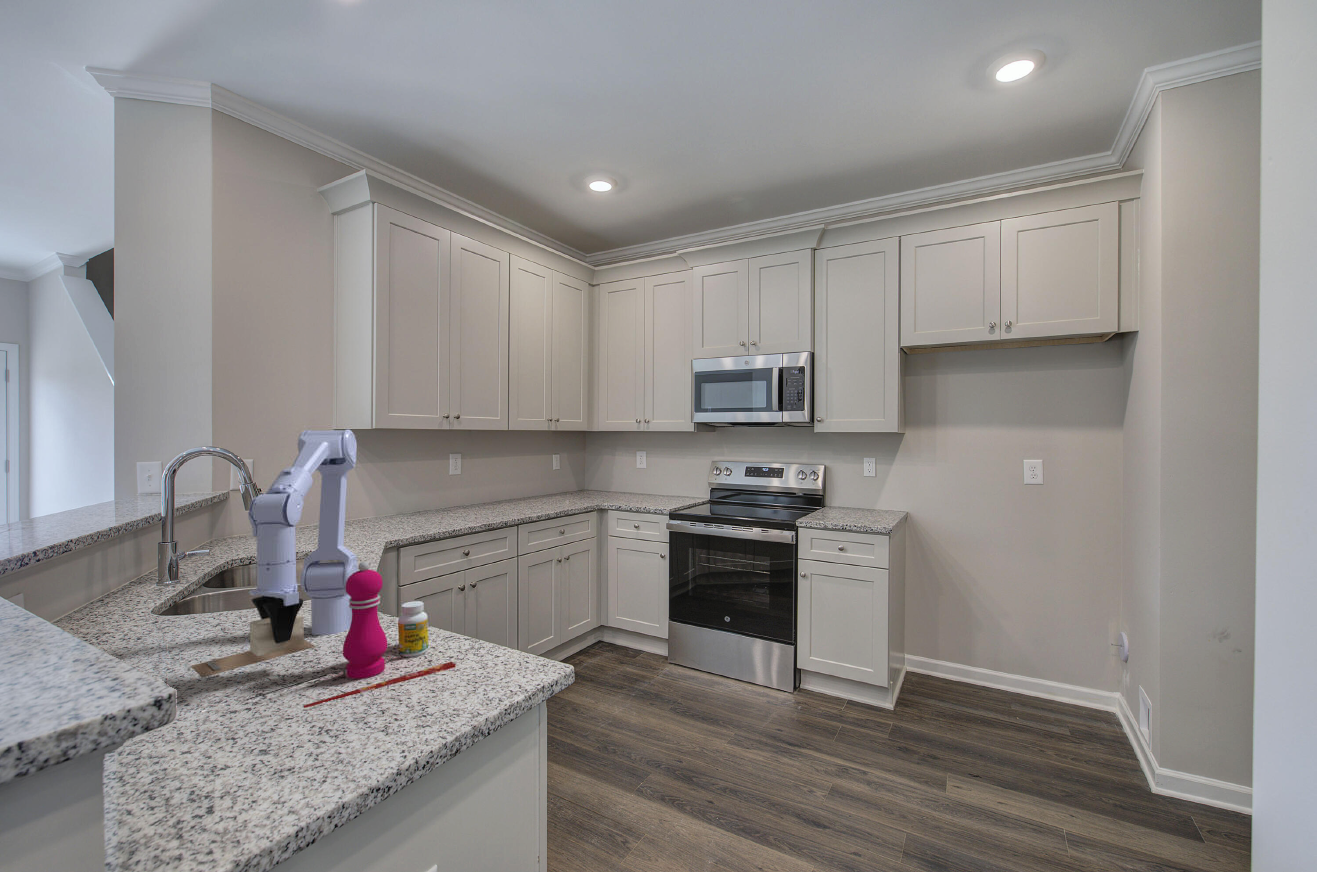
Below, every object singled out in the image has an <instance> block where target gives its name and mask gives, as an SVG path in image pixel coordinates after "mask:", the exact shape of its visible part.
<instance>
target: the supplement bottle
mask: <svg viewBox="0 0 1317 872" xmlns="http://www.w3.org/2000/svg"><path fill="white" fill-rule="evenodd" d="M424 605H425V604H424V602H423V601H418V600H416V601H409V602H405V603H403V604H401V605H400V606H401V607H400V608H401V610H400V612H401V613H402V614H401V615H399V617H398V620H397V629H398V630H397V631H398V650H399V652H398V654H399V656H401V657H403V658H414V657H418V656H421V655H422V656H423V655H424V654H426V653H427V652H428V650H429V622H428V620H429V619H428V614H427V613H426V612H425V611H424V609H425V607H424Z"/></svg>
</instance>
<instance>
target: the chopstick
mask: <svg viewBox="0 0 1317 872" xmlns="http://www.w3.org/2000/svg"><path fill="white" fill-rule="evenodd" d="M455 668H456V663H454V662H453V661H448V662H446V663H442V664H438V665H435V666H431V667H428V668H425V669H423V670H418V671H416V672H415V671H414V672H411V673H408V674H405V675H402V676H399V677H395V678H391V679H388V680H385V681H381V682H378V683H376V684H372V685H368V686H364V687H360V688H358V689H357V688H356V689H355V690H352V691H351V690H350V691H347V692H345V693H344V692H343V693H342V694H338V695H334V696H331V697H327V698H324V699H322V700H318V701H314V702H311V703H307V704H304V705H303V708H304V709H305V708H310V707H313V706H317V705H321V704H324V703H323V702H325V703H328V701H329V702H332V701H336V700H340V699H342V698H346V696H347V697H350V696H349V695H351V696H354V694H355V695H357V694H362V693H365V691H366V692H369V691H373V690H378V689H380V688H384V687H388V686H391V685H395V684H399V683H403V682H406V681H410V680H413V679H416V678H421V677H425V676H428V675H432V674H436V673H439V672H443V671H446V670H449V669H455ZM339 698H340V699H339ZM335 699H336V700H335ZM331 700H332V701H331Z"/></svg>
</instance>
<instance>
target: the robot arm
mask: <svg viewBox="0 0 1317 872" xmlns="http://www.w3.org/2000/svg"><path fill="white" fill-rule="evenodd" d="M357 447H358V445H357V439H356V435H355V433H354V432H353V431H352V430H351V429H345V430H344V429H343V430H339V429H338V430H337V429H336V430H310V429H309V430H308V429H304V430H303V431H302V432H301V433H300V434H299V436H298V438H297V450H298V454H297V456H296V458H295V460H294V461H293V464H292V465H291V466H289V467H285V468H284V469H282V470H281V471H280V472H279V474H278V475H277V476H276V478H275V479H274V481H273V482H272V484H271V485H270V487H269V488H268V489H267V491H266V492H265V493H261V494H259V495H257V496H256V497H254V498H253V499H252V500H251V501H250V504H249V509H248V512H247V515H248V521H249V523H250V525H251V530H252V535H253V537H254V538H256V578H257V579H256V581H257V583H256V585H257V586H256V588H255V589H250V590H249V591H248V593H249V595H250V596H251V597H254V598H252V599H251V602H252V603H253V605H254V607H255V608H256V610H257V612H258V614H259V617H260V620H262V619H266V618H270V622H271V626H272V632H273V637H274V640H275V643H281V642H285V641H289V640H290V638H291V634H292V630H293V626H294V622H295V619H296V616H297V614H299V612H300V610H301V607H302V606H303V604H304V599H302V598H300V593H299V591H298V588H299V587H298V585H299V584H298V583H297V560H296V559H297V556H296V555H297V551H296V525H297V524H298V523H299V522H300V520H301V518H302V517H301V516H302V510H303V507H304V504H305V503H304V499H305V497H306V496H307V494H308V493H309V490H310V489H311V488H312V486H313V483H314V482H313V481H314V480H313V476H312V475H313V474H314V473H315V471H317V472H318V473H320V475H321V486H320V501H319V503H320V504H319V520H318V537H317V548H316V549H315V550H314V551H312V552H311V553H309V554H308V555H307V556H305V557H304V561H303V567H302V571H301V573H300V579H299V580H300V581H299V582H300V587H301V589H302V590H303V592H304V593H305V594H307V597H308V598H310V607H311V609H310V612H311V613H310V614H311V615H310V616H311V620H310V621H311V623H310V624H311V634H312V635H315V636H330V635H335V634H339V633H342V632H343V633H344V632H345V631H349V629H350V626H351V621H352V608H350V607H349V604H350V602H349V599H350V598H351V597H350V596H349V595H348V594H347V592H346V588H345V587H346V581H347V579H348V578H349V576H350V575H352V574H353V573H355V572H357V571H359V568H358V567H359V565H358V557H357V555H356V553H354V552H352V551H351V550H349V549H348V548H347V547H345V545H344V544H345V543H344V541H345V523H346V503H347V487H348V486H347V483H348V473H349V471H351V470H353V469H354V468H355V467H356V462H357ZM322 561H334V562H322ZM335 561H337V562H335ZM255 596H258V597H255Z"/></svg>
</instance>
